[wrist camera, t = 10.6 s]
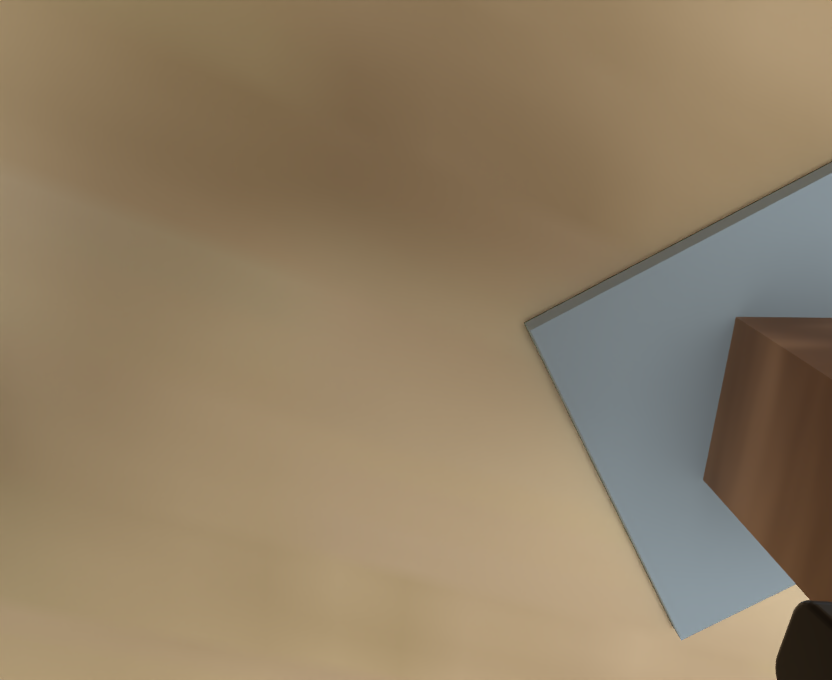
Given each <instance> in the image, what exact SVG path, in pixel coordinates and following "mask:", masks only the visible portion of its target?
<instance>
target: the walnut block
mask: <svg viewBox="0 0 832 680" xmlns="http://www.w3.org/2000/svg"><path fill="white" fill-rule="evenodd" d="M703 480H704V482H705V483H706V484H707V485H708V486H709V487H710V488H711V489H712V490H713V492H714V493H715V494H716V495H717V496H718V497H719V498H720V499H721V501H722V502H723V503H724V504H725V505H726V506H727V507H728V508H729V510H730V511H731V512H732V513H733V514H734V515H735V516H736V517H737V518H738V520H739V521H740V522H741V523H742V524H743V525H744V526H745V527H746V529H747V530H748V531H749V532H750V533H751V534H752V535H753V536H754V538H755V539H756V540H757V541H758V542H759V543H760V544H761V545H762V546H763V548H764V549H765V550H766V551H767V552H768V553H769V554H770V555H771V557H772V558H773V559H774V560H775V561H776V562H777V563H778V564H779V566H780V567H781V568H782V569H783V570H784V571H785V572H786V573H787V575H788V576H789V577H790V578H791V579H792V580H793V581H794V582H795V583H796V585H797V586H798V587H799V588H800V589H801V590H802V591H803V592H804V594H805V595H806V596H807V597H808V598H809V599H810V600H811V601H828V602H832V318H808V317H736V319H735V324H734V329H733V334H732V339H731V344H730V349H729V353H728V358H727V363H726V368H725V373H724V378H723V383H722V388H721V393H720V398H719V403H718V408H717V413H716V418H715V423H714V428H713V432H712V437H711V442H710V447H709V452H708V457H707V462H706V467H705V472H704V477H703Z"/></svg>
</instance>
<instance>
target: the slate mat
mask: <svg viewBox="0 0 832 680" xmlns="http://www.w3.org/2000/svg"><path fill="white" fill-rule="evenodd" d="M736 317H808V318H832V162H831V163H829V164H827V165H825V166H823V167H821V168H819V169H818V170H816V171H814V172H812V173H810V174H808V175H806V176H804V177H802V178H800V179H798V180H797V181H795V182H793V183H791V184H789V185H787V186H785V187H783V188H781V189H779V190H777V191H776V192H774V193H772V194H770V195H768V196H766V197H764V198H762V199H760V200H758V201H756V202H755V203H753V204H751V205H749V206H747V207H745V208H743V209H741V210H739V211H737V212H735V213H734V214H732V215H730V216H728V217H726V218H724V219H722V220H720V221H718V222H716V223H714V224H713V225H711V226H709V227H707V228H705V229H703V230H701V231H699V232H697V233H695V234H693V235H691V236H690V237H688V238H686V239H684V240H682V241H680V242H678V243H676V244H674V245H672V246H670V247H669V248H667V249H665V250H663V251H661V252H659V253H657V254H655V255H653V256H651V257H649V258H648V259H646V260H644V261H642V262H640V263H638V264H636V265H634V266H632V267H630V268H628V269H627V270H625V271H623V272H621V273H619V274H617V275H615V276H613V277H611V278H609V279H607V280H606V281H604V282H602V283H600V284H598V285H596V286H594V287H592V288H590V289H588V290H586V291H585V292H583V293H581V294H579V295H577V296H575V297H573V298H571V299H569V300H567V301H565V302H564V303H562V304H560V305H558V306H556V307H554V308H552V309H550V310H548V311H546V312H544V313H543V314H541V315H539V316H537V317H535V318H533V319H531V320H529V321H527V322H525V323H524V324H525V326H526V328H527V330H528V332H529V334H530V336H531V338H532V340H533V342H534V344H535V346H536V348H537V350H538V352H539V354H540V356H541V358H542V360H543V362H544V364H545V366H546V369H547V371H548V373H549V375H550V377H551V379H552V381H553V383H554V385H555V387H556V389H557V391H558V393H559V395H560V397H561V399H562V401H563V403H564V405H565V407H566V409H567V411H568V413H569V415H570V417H571V420H572V422H573V424H574V426H575V428H576V430H577V432H578V434H579V436H580V438H581V440H582V442H583V444H584V446H585V448H586V450H587V452H588V454H589V456H590V458H591V460H592V462H593V464H594V466H595V468H596V471H597V473H598V475H599V477H600V479H601V481H602V483H603V485H604V487H605V489H606V491H607V493H608V495H609V497H610V499H611V501H612V503H613V505H614V507H615V509H616V511H617V513H618V515H619V517H620V519H621V522H622V524H623V526H624V528H625V530H626V532H627V534H628V536H629V538H630V540H631V542H632V544H633V546H634V548H635V550H636V552H637V554H638V556H639V558H640V560H641V562H642V564H643V566H644V568H645V570H646V573H647V575H648V577H649V579H650V581H651V583H652V585H653V587H654V589H655V591H656V593H657V595H658V597H659V599H660V601H661V603H662V605H663V607H664V609H665V611H666V613H667V615H668V617H669V619H670V621H671V624H672V626H673V628H674V629H675V631H676V632H677V634H678V636H679V637H680V639H681V640H683V639H685V638H687V637H689V636H691V635H693V634H695V633H697V632H699V631H701V630H703V629H705V628H707V627H709V626H711V625H713V624H716V623H718V622H720V621H722V620H724V619H726V618H728V617H730V616H732V615H734V614H736V613H738V612H740V611H742V610H744V609H746V608H748V607H750V606H752V605H754V604H756V603H758V602H760V601H762V600H764V599H766V598H768V597H770V596H773V595H775V594H777V593H779V592H781V591H783V590H785V589H787V588H789V587H791V586H793V585H795V584H796V583H795V582H794V581H793V580H792V579H791V578H790V577H789V576H788V575H787V573H786V572H785V571H784V570H783V569H782V568H781V567H780V566H779V564H778V563H777V562H776V561H775V560H774V559H773V558H772V557H771V555H770V554H769V553H768V552H767V551H766V550H765V549H764V548H763V546H762V545H761V544H760V543H759V542H758V541H757V540H756V539H755V538H754V536H753V535H752V534H751V533H750V532H749V531H748V530H747V529H746V527H745V526H744V525H743V524H742V523H741V522H740V521H739V520H738V518H737V517H736V516H735V515H734V514H733V513H732V512H731V511H730V510H729V508H728V507H727V506H726V505H725V504H724V503H723V502H722V501H721V499H720V498H719V497H718V496H717V495H716V494H715V493H714V492H713V490H712V489H711V488H710V487H709V486H708V485H707V484H706V483H705V482H704V480H703V477H704V472H705V467H706V462H707V457H708V452H709V447H710V442H711V437H712V432H713V428H714V423H715V418H716V413H717V408H718V403H719V398H720V393H721V388H722V383H723V378H724V373H725V368H726V363H727V358H728V353H729V349H730V344H731V339H732V334H733V329H734V324H735V319H736Z"/></svg>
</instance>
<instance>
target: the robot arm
mask: <svg viewBox="0 0 832 680" xmlns="http://www.w3.org/2000/svg"><path fill="white" fill-rule="evenodd" d="M776 677H777V680H832V602H828V601H811V600H807V601H803V602H801V603H799V604H798V605H797V606H796V607H795V609H794V611H793V614H792V617H791V619H790V622H789V625H788V628H787V630H786V633H785V636H784V638H783V641H782V644H781V647H780V649H779V652H778V655H777V658H776Z"/></svg>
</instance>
